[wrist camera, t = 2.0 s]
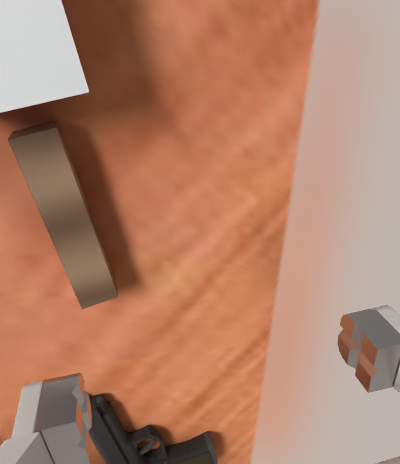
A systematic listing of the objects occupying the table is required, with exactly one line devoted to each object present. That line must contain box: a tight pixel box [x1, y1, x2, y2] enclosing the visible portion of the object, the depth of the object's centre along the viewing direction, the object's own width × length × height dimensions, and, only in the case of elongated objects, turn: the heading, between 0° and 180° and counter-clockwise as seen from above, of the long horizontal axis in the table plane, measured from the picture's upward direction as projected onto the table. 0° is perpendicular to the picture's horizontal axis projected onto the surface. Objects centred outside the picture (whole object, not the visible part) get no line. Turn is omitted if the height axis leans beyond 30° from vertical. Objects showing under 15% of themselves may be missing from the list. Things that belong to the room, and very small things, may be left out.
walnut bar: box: [8, 121, 118, 309], centre depth 29 cm, size 14×3×3 cm, turn 11°
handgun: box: [88, 395, 218, 464], centre depth 42 cm, size 3×19×12 cm
